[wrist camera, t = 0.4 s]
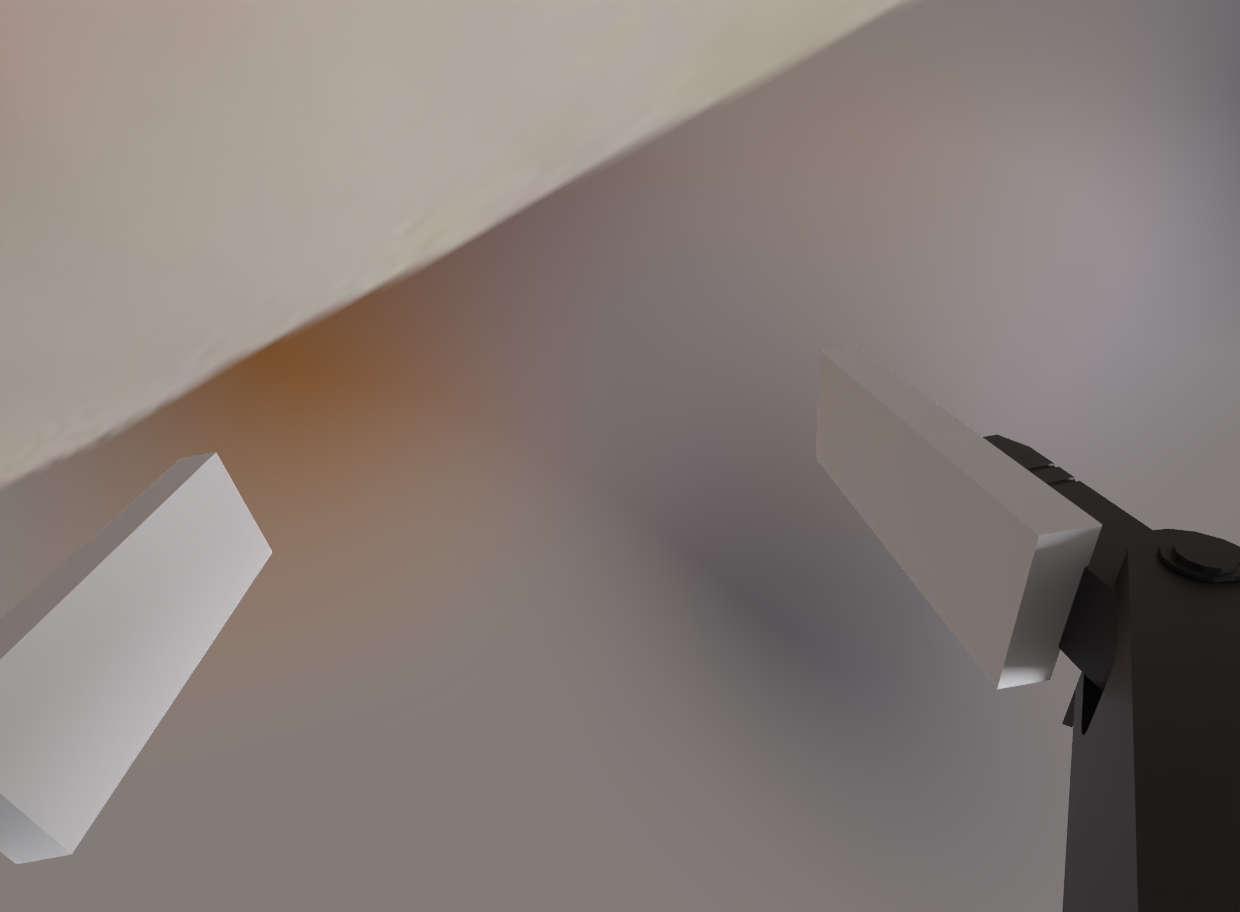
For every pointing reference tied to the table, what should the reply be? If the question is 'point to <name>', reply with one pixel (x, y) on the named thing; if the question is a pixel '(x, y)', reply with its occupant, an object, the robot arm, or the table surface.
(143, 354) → the table surface
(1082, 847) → the robot arm
